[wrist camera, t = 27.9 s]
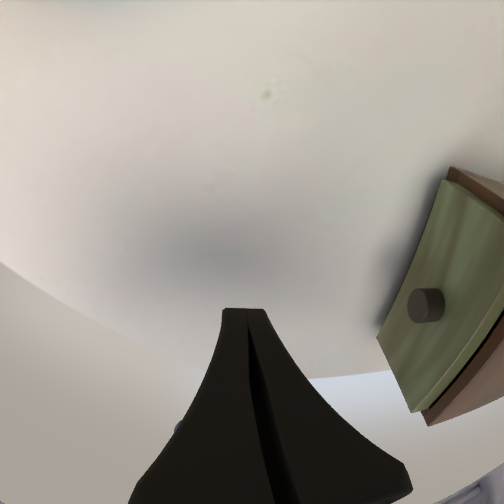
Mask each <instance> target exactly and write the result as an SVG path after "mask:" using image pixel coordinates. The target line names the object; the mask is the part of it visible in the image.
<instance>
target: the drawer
mask: <svg viewBox="0 0 504 504" xmlns="http://www.w3.org/2000/svg"><path fill="white" fill-rule="evenodd" d="M503 309H504V216H503V215H502V214H501V213H499V212H498V211H497V210H495V209H494V208H493V207H491V206H490V205H488V204H487V203H486V202H484V201H483V200H481V199H480V198H479V197H477V196H476V195H474V194H473V193H471V192H470V191H468V190H467V189H465V188H464V187H462V186H461V185H459V184H458V183H455V182H451V181H447V180H443V179H442V180H441V183H440V186H439V190H438V193H437V196H436V199H435V202H434V205H433V208H432V211H431V214H430V217H429V219H428V222H427V225H426V228H425V231H424V233H423V236H422V238H421V241H420V244H419V246H418V249H417V251H416V254H415V256H414V259H413V261H412V263H411V266H410V268H409V271H408V273H407V275H406V277H405V280H404V282H403V284H402V286H401V289H400V291H399V293H398V295H397V297H396V299H395V302H394V304H393V306H392V308H391V310H390V312H389V314H388V316H387V318H386V320H385V322H384V324H383V326H382V328H381V330H380V332H379V334H378V336H377V340H378V342H379V344H380V346H381V348H382V350H383V352H384V354H385V356H386V359H387V361H388V363H389V365H390V367H391V369H392V371H393V374H394V375H395V378H396V380H397V382H398V385H399V387H400V389H401V391H402V393H403V396H404V398H405V401H406V403H407V405H408V408H409V410H410V412H411V413H414V412H418V411H422V410H425V409H427V408H428V407H429V406H430V405H431V404H432V403H433V402H434V401H435V400H436V399H437V398H438V396H439V395H440V394H441V393H442V392H443V391H444V390H445V388H446V390H448V389H449V388H450V387H451V386H452V384H453V383H454V382H455V381H456V380H457V379H458V377H459V376H460V375H461V374H462V372H463V371H464V370H465V369H466V367H467V366H468V365H469V364H470V362H471V361H472V360H473V358H474V357H475V356H476V354H477V353H478V352H479V350H480V349H481V348H482V346H483V345H484V344H483V343H482V341H483V340H484V338H485V337H486V335H487V334H488V332H489V331H490V329H491V328H492V326H493V325H494V323H495V322H496V320H497V319H498V317H499V316H500V314H501V312H502V311H503Z"/></svg>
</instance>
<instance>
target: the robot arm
mask: <svg viewBox="0 0 504 504" xmlns="http://www.w3.org/2000/svg"><path fill="white" fill-rule="evenodd" d="M412 490H413V487H412V484H411V481H410V478H409V475H408V472H407V470H406V468H405V466H404V464H403V463H402V462H400V461H399V460H397V459H395V458H394V457H392V456H391V455H389V454H387V453H386V452H384V451H383V450H382V449H380V448H379V447H377V446H376V445H375V444H373V443H372V442H371V441H369V440H368V439H367V438H365V437H364V436H363V435H361V434H360V433H359V432H358V431H357V430H356V429H355V428H353V427H352V426H351V425H350V424H349V423H348V422H347V421H345V420H344V419H343V418H342V417H341V416H340V415H339V414H338V413H337V412H336V411H335V410H334V409H333V408H332V407H331V406H330V405H329V404H328V403H327V402H326V401H325V400H324V399H323V398H322V396H321V395H320V394H319V393H318V392H317V391H316V390H315V388H314V387H313V386H312V385H311V384H310V382H309V381H308V380H307V378H306V377H305V376H304V374H303V373H302V372H301V370H300V369H299V368H298V366H297V365H296V363H295V362H294V360H293V359H292V357H291V356H290V354H289V353H288V351H287V350H286V348H285V347H284V345H283V343H282V342H281V340H280V338H279V337H278V335H277V333H276V331H275V330H274V328H273V326H272V324H271V322H270V320H269V318H268V316H267V314H266V312H265V311H264V310H263V309H247V308H225V309H224V310H222V323H221V330H220V334H219V338H218V341H217V344H216V347H215V350H214V354H213V357H212V359H211V362H210V364H209V367H208V369H207V372H206V374H205V377H204V379H203V381H202V383H201V386H200V388H199V390H198V392H197V394H196V396H195V398H194V400H193V402H192V404H191V406H190V407H189V409H188V411H187V413H186V414H185V416H184V418H183V420H182V421H181V423H180V425H179V426H178V428H177V430H176V431H175V433H174V434H173V436H172V437H171V439H170V440H169V442H168V443H167V444H166V446H165V447H164V449H163V450H162V452H161V453H160V455H159V456H158V457H157V459H156V460H155V461H154V462H153V464H152V465H151V466H150V467H149V469H148V470H147V471H146V472H145V474H144V475H143V476H142V477H141V478H140V480H139V481H138V482H137V484H136V486H135V488H134V491H133V493H132V495H131V497H130V499H129V502H128V504H391V503H393V502H395V501H397V500H399V499H401V498H403V497H405V496H407V495H408V494H410V493H411V492H412ZM0 504H4V503H3V502H1V501H0ZM434 504H504V463H503V464H501V465H500V466H498V467H497V468H495V469H494V470H492V471H491V472H489V473H487V474H486V475H485V476H483V477H481V478H480V479H479V480H477V481H475V482H473V483H472V484H470V485H468V486H466V487H465V488H463V489H461V490H459V491H458V492H456V493H454V494H452V495H450V496H449V497H447V498H445V499H443V500H441V501H438V502H436V503H434Z"/></svg>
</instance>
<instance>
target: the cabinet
mask: <svg viewBox="0 0 504 504" xmlns="http://www.w3.org/2000/svg"><path fill="white" fill-rule="evenodd" d="M447 181H451V182H455V183H458V184H459V185H461V186H462V187H464V188H465V189H467V190H468V191H470V192H471V193H473V194H474V195H476V196H477V197H479V198H480V199H481V200H483V201H484V202H486V203H487V204H488V205H490V206H491V207H493V208H494V209H495V210H497V211H498V212H499V213H501V214H502V215H503V216H504V184H501V183H499V182H496V181H493V180H491V179H488V178H485V177H482V176H479V175H476V174H473V173H470V172H467V171H464V170H461V169H458V168H455V167H450V170H449V174H448V177H447ZM503 396H504V315H503V317H502V318H501V320H500V321H499V323H498V325H497V326H496V328H495V329H494V331H493V332H492V334H491V335H490V336H489V338H488V339H487V341H486V342H485V344H484V345H483V346H482V348H481V349H480V350H479V352H478V353H477V354H476V356H475V357H474V358H473V360H472V361H471V362H470V364H469V365H468V366H467V367H466V369H465V370H464V371H463V372H462V374H461V375H460V376H459V377H458V379H457V380H456V381H455V382H454V383H453V384H452V386H451V387H450V388H449V389H448V390H446V388H445V390H444V391H443V392H442V393H441V394H440V395H439V396H438V398H437V399H436V400H435V401H434V402H433V403H432V404H431V405H430V406H429V407H428V408H427V409H425V410H422V411H421V413H422V415H423V416H424V419H425V422H426V424H427V426H432V425H434V424H438V423H441V422H443V421H446V420H449V419H452V418H454V417H457V416H460V415H462V414H464V413H467V412H469V411H472V410H474V409H477V408H479V407H481V406H484V405H486V404H488V403H490V402H492V401H495V400H497V399H499V398H501V397H503Z"/></svg>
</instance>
